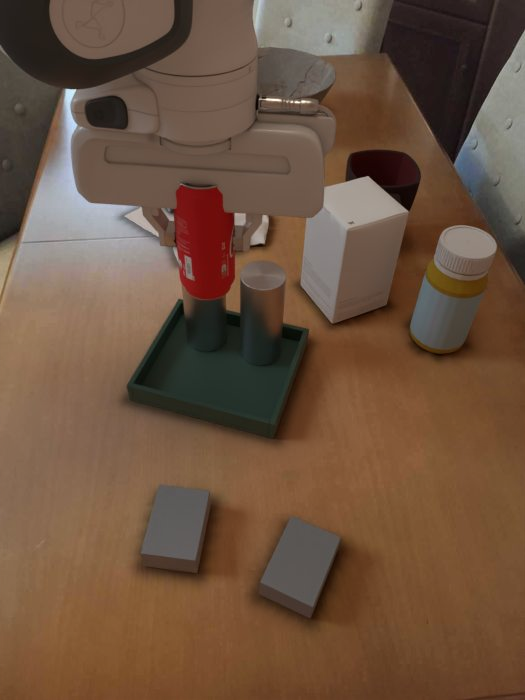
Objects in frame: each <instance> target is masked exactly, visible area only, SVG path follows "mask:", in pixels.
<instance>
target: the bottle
mask: <svg viewBox="0 0 525 700" xmlns="http://www.w3.org/2000/svg"><path fill="white" fill-rule="evenodd" d="M497 247H498V245H497V242H496V240H495V239H494V237H493V236H492V235H491V234H489V233H488V232H487V231H485V230H483V229H481V228H478V227H476V226H472V225H463V224H461V225H460V224H459V225H458V224H457V225H451V226H449V227H447V228H445V229H443V230H442V232H441V233H440V236H439V238H438V241H437V244H436V248H435V254H434V256H433V258H432V259H431V260H430V261H429V263H428V264H427V267H426V269H425V272H424V276H423V279H422V282H421V287H420V289H419V292H418V296H417V300H416V303H415V307H414V309H413V313H412V316H411V320H410V325H409V334H410V337H411V339H412V340H413V341H414V343H415V344H416V345H417V346H419V347H420V348H421V349H423V350H425V351H427V352H429V353H432V354H437V355H441V354H442V355H443V354H450V353H453V352H457V351H458V350H460V349H461V348H462V347H463V345H464V343H466V340H467V338H468V335H469V333H470V329H471V327H472V324H473V322H474V320H475V317H476V315H477V311H478V309H479V307H480V305H481V302H482V300H483V297H484V294H485V292H486V289H487V286H488V284H489V271H490V267H491V265H492V263H493V260H494V257H495V255H496V253H497Z"/></svg>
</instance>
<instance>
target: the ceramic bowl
mask: <svg viewBox="0 0 525 700" xmlns="http://www.w3.org/2000/svg"><path fill="white" fill-rule="evenodd" d="M336 80H337V71H336V68H335V66H333V64H331V63H330V62H328V61H327V59H324V58H321V57H320V56H318V55H315V54H313V53H310V52H307V51H302V50H298V49H294V48H287V47H273V46H266V47H263V46H261V47H258V72H257V94H258V95H267V96H280V97H283V98H284V97H286V98H290V99H291V98H292V99H301V98H311V99H315V100H318V104H319V105H321V103H322V102H323V101H324V99H325V98H326V96H327V95H328V93H329V92H330V90H331V88H332V87H333V86H334V84H335V82H336ZM257 110H258V109H257Z"/></svg>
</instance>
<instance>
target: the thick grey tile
mask: <svg viewBox="0 0 525 700" xmlns="http://www.w3.org/2000/svg"><path fill="white" fill-rule="evenodd" d="M152 505H153V506H152V509H151V513H150V517H149V520H148V523H147V524H148V525H147V527H146V532H145V536H144V539H143V542H142V546H141V550H140V556H141V560H142V563H143V566H144V567H146V568H153V569H162V570H170V571H177V572H184V573H192V574H198V572H199V566H200V561H201V557H202V552H203V547H204V542H205V537H206V533H207V532H206V531H207V527H208V521H209V517H210V512H211V508H212V507H211V506H212V501H211V491H210V490H205V489H198V488H190V487H181V486H175V485H166V484H165V485H164V484H158V487H157V491H156V495H155V498H154V502H153V504H152Z"/></svg>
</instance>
